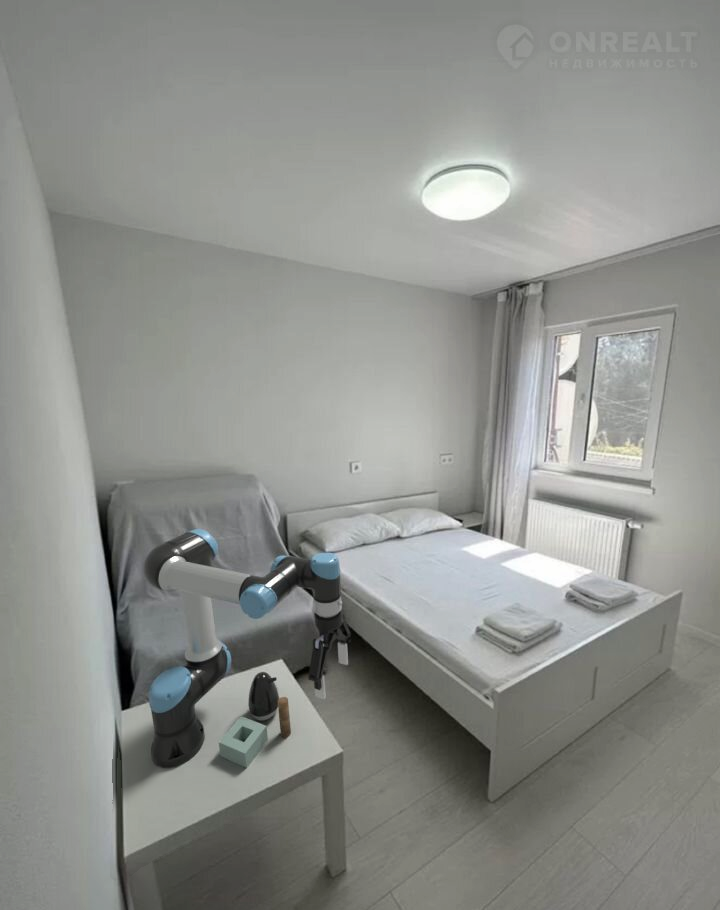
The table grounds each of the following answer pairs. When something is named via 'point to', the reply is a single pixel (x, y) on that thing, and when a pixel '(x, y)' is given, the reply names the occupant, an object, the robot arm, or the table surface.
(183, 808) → the table surface
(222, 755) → the socket block
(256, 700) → the pump dispenser
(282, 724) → the peg
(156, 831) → the table surface
